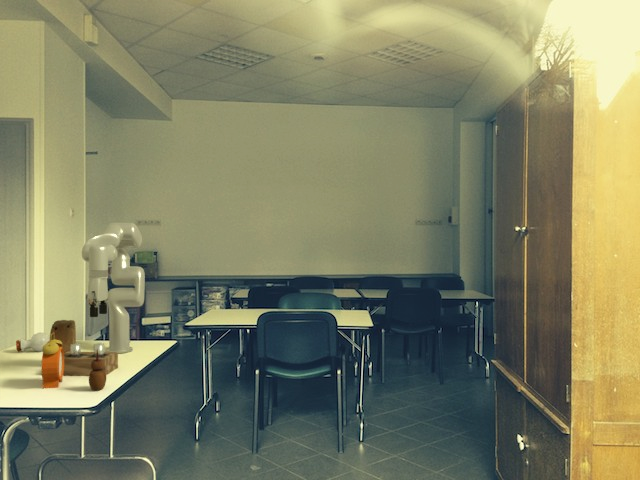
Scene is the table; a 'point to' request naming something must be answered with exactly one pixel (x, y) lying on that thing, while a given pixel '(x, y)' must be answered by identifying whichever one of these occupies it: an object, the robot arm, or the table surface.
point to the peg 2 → (99, 349)
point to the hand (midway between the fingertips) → (98, 315)
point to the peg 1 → (75, 349)
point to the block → (64, 333)
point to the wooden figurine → (97, 374)
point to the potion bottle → (33, 342)
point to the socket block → (88, 363)
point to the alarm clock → (52, 364)
